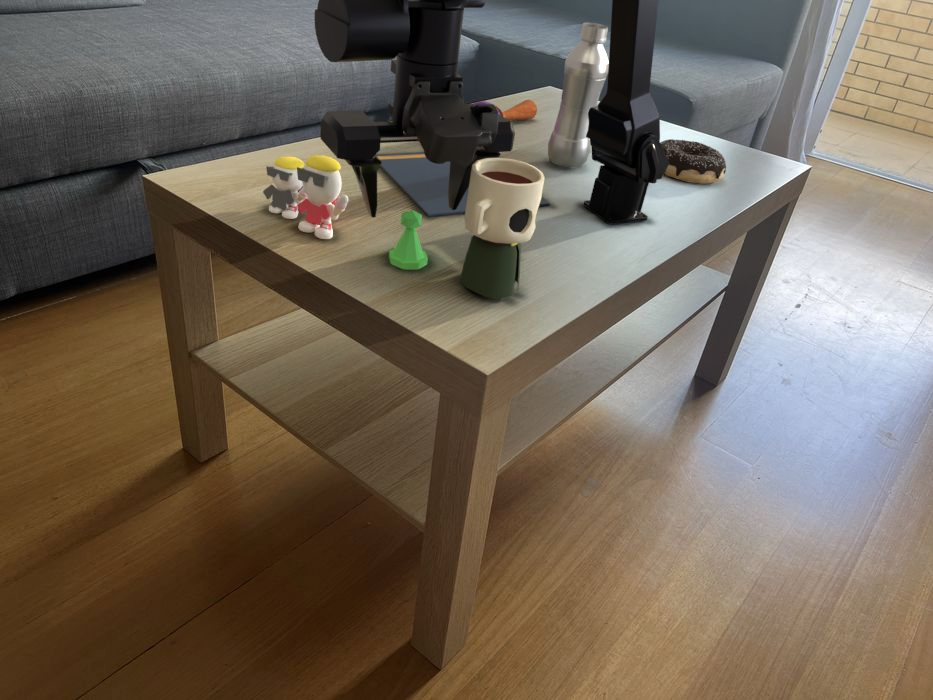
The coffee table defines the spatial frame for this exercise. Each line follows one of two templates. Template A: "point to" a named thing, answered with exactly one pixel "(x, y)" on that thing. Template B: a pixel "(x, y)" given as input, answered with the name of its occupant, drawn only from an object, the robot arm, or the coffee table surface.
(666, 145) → the donut
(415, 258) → the game piece
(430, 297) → the coffee table surface
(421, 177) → the napkin
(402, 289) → the coffee table surface
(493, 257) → the character mug
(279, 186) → the toy figures
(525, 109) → the maraca
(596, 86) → the silver metal bottle
